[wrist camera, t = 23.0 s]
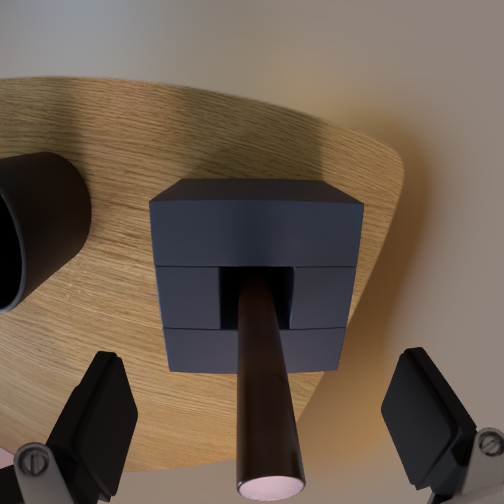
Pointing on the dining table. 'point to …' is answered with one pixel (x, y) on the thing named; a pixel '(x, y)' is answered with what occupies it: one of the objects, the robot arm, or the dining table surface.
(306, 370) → the holder
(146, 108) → the dining table surface
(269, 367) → the stick
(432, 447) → the robot arm
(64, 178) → the mug
